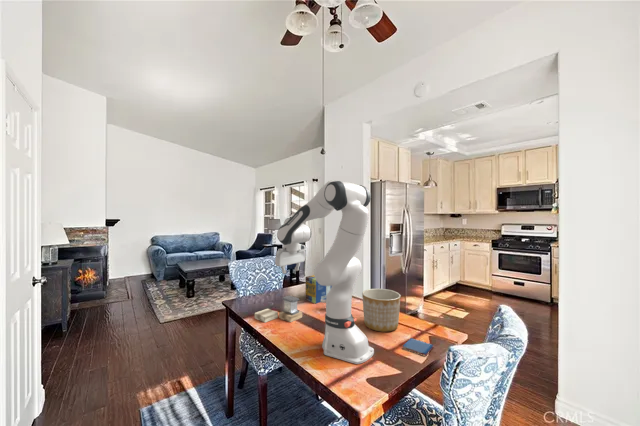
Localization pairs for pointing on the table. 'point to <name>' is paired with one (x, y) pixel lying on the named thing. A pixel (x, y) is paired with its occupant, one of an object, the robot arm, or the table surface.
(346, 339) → the robot arm
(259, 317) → the stand
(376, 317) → the planter
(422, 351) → the blue sponge
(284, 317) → the stand
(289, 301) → the housing
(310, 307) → the table surface
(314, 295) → the protein box
